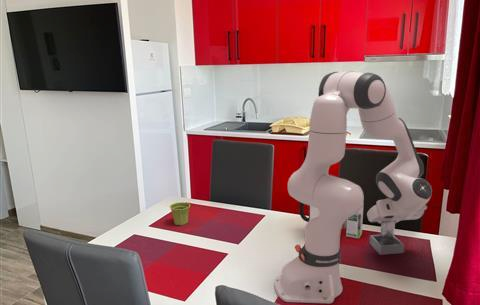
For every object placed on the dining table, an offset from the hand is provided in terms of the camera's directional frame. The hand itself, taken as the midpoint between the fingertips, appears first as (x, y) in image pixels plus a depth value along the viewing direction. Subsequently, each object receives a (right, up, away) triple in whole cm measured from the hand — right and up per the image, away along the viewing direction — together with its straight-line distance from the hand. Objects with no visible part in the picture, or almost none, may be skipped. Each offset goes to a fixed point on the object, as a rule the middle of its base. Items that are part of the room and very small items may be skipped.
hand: (387, 221), depth 149 cm
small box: (-12, -7, +23) cm, 26 cm away
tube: (0, -10, +2) cm, 10 cm away
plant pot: (-86, -6, +30) cm, 91 cm away
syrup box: (-9, -9, +14) cm, 19 cm away
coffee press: (-24, -9, +13) cm, 29 cm away
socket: (0, -11, +2) cm, 11 cm away
